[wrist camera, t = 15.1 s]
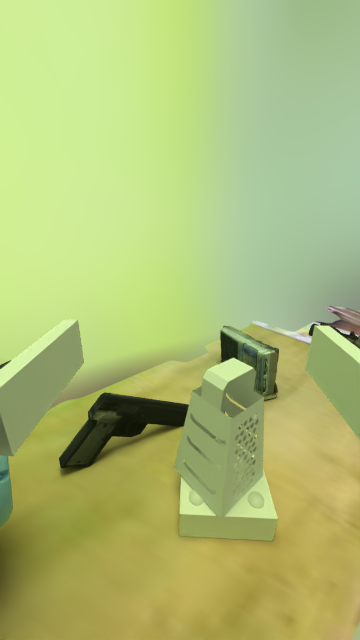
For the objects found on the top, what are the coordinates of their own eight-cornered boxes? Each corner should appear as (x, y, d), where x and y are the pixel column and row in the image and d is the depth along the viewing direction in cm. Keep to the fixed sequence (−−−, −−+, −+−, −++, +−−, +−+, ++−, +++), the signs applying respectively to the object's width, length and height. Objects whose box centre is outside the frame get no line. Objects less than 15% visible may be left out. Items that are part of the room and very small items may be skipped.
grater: (262, 476, 43) (285, 372, 36) (220, 519, 37) (237, 403, 29) (215, 437, 50) (226, 345, 43) (173, 467, 44) (178, 364, 37)
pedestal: (179, 536, 39) (179, 512, 37) (182, 457, 52) (182, 436, 50) (272, 540, 39) (278, 517, 37) (252, 460, 52) (255, 439, 50)
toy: (284, 339, 106) (348, 384, 80) (288, 320, 103) (356, 361, 77) (341, 330, 115) (415, 369, 89) (347, 313, 111) (425, 348, 85)
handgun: (165, 464, 61) (192, 408, 60) (60, 468, 47) (93, 395, 46) (160, 456, 63) (186, 402, 62) (59, 458, 49) (90, 388, 48)
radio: (215, 361, 88) (218, 320, 83) (239, 358, 90) (243, 318, 85) (248, 405, 67) (255, 354, 62) (278, 400, 69) (286, 350, 64)
